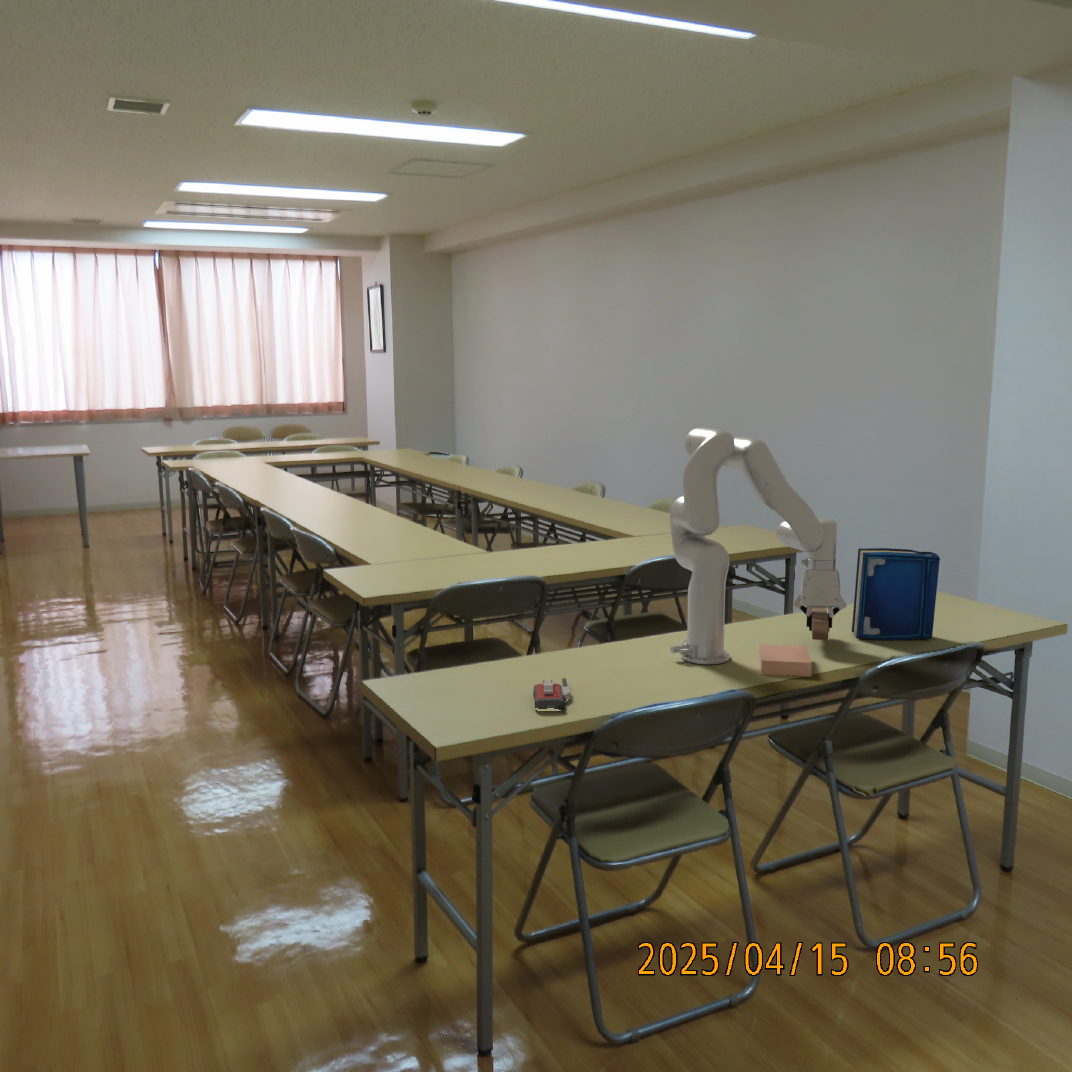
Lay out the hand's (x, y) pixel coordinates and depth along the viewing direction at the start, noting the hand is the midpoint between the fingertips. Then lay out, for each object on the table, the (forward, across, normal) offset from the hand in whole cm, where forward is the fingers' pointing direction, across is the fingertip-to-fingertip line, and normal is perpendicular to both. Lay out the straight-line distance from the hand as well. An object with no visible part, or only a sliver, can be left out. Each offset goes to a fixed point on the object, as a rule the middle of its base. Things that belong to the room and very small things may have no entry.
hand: (819, 629), depth 253 cm
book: (+5, +20, +12) cm, 24 cm away
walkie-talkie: (+4, -62, -56) cm, 83 cm away
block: (0, 0, 0) cm, 0 cm away
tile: (+3, -10, -14) cm, 18 cm away
